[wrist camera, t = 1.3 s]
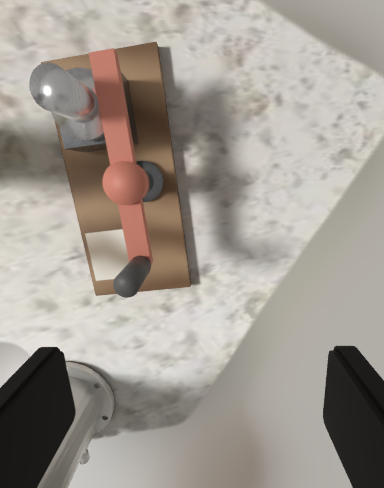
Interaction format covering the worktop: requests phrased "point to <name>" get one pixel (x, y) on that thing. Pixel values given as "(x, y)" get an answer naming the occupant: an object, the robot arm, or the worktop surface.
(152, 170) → the pivot post
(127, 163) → the lever
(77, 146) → the block
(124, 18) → the worktop surface
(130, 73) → the board
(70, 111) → the peg
